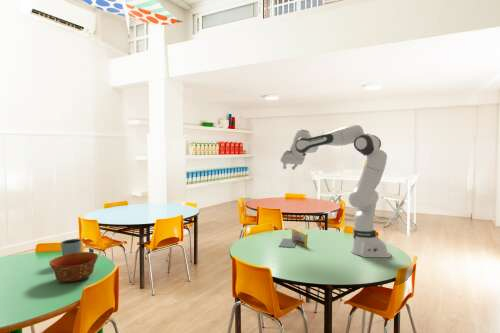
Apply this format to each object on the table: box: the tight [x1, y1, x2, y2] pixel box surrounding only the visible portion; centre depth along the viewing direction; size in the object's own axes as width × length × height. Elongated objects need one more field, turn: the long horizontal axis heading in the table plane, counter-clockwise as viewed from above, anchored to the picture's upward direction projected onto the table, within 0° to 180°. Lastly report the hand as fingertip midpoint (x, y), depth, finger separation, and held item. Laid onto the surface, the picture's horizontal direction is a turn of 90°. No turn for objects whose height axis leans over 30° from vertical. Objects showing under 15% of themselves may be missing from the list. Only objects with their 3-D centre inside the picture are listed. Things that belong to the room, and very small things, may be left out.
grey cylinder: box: [60, 238, 82, 256], centre depth 183 cm, size 10×10×12 cm
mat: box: [278, 238, 297, 249], centre depth 221 cm, size 10×20×1 cm, turn 166°
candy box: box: [291, 228, 308, 248], centre depth 219 cm, size 16×2×8 cm, turn 25°
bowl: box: [48, 251, 99, 283], centre depth 159 cm, size 21×21×10 cm
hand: (288, 169), depth 232 cm, fingers open, 8 cm apart
